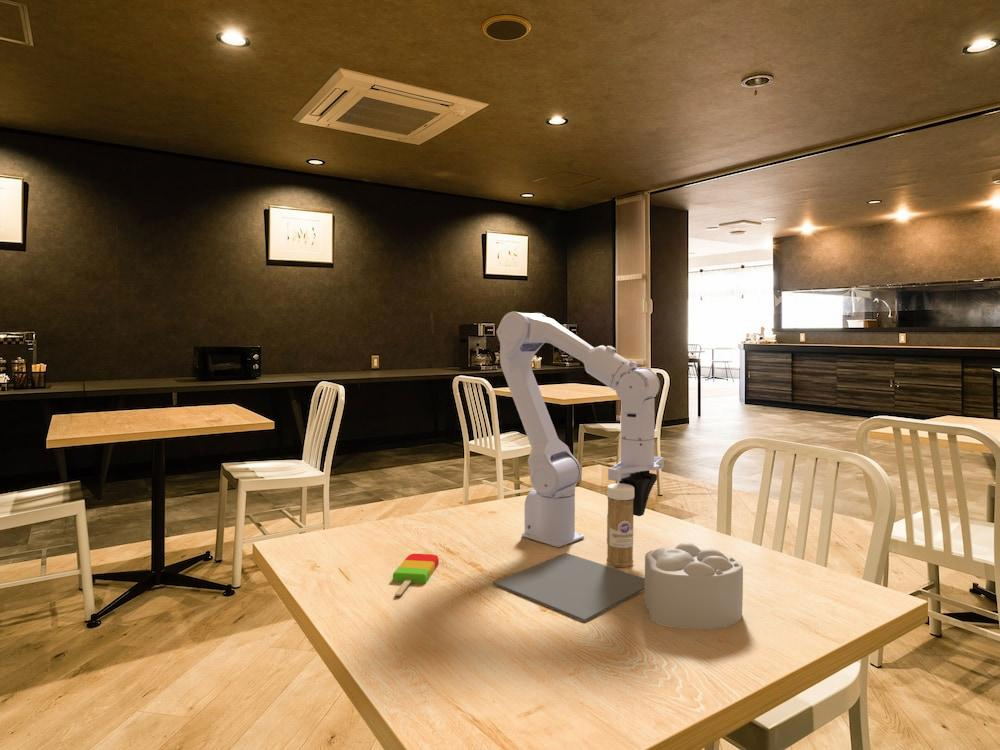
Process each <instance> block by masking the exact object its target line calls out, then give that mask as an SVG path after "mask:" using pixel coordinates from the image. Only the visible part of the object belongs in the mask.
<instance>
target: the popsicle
mask: <svg viewBox="0 0 1000 750" xmlns="http://www.w3.org/2000/svg"><path fill="white" fill-rule="evenodd" d="M439 564H440V563H439V557H438V555H436V554H431V553H411V554H409V555H407V557H405V559H404V560H403V561H402V563H401V564H400V565H399V566H397V568H396V570H394V572H393V574H392V582H393V583H402V584H401V585H400V586H399V587H398V588H397V590H396V591H395V592H394V596H396V597H401V596H402V595H403V594H404V592H405V591H406V589H407V588H408V587H409V585H410V584H423V585H424V584H427V582H428V581H429V579H430V578H431V576H432V575H433V574H434V572H435V571H436V569H437V568H438V567H439Z"/></svg>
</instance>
